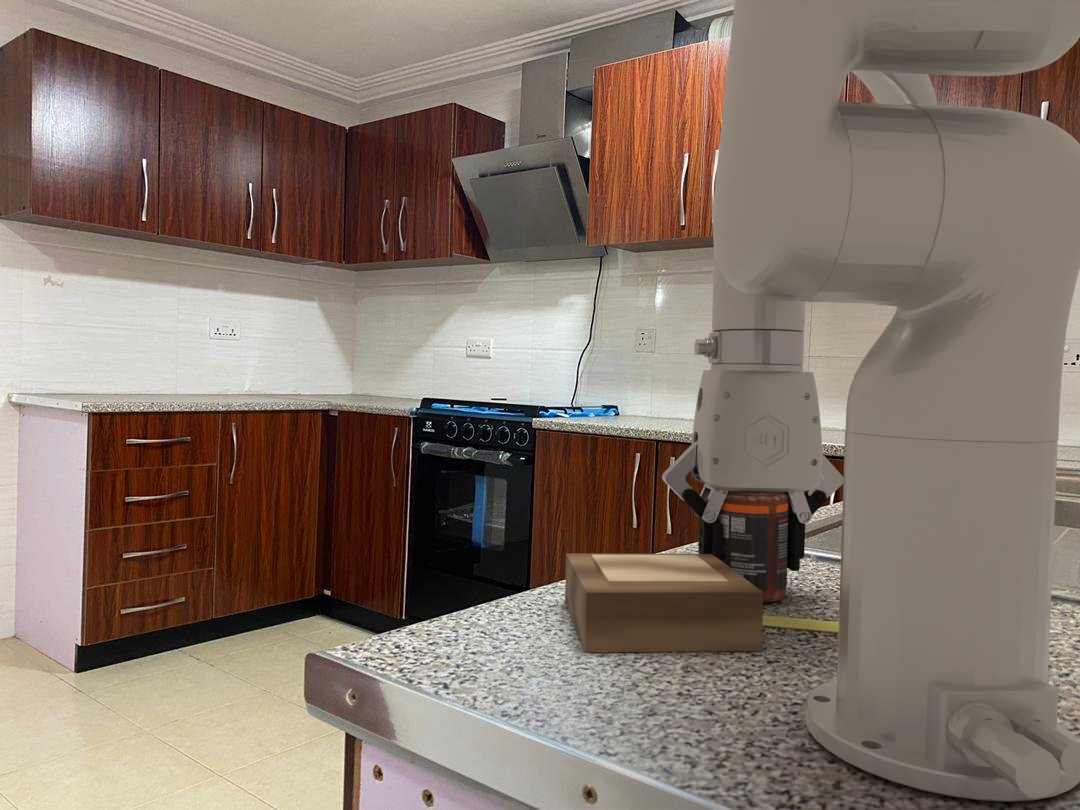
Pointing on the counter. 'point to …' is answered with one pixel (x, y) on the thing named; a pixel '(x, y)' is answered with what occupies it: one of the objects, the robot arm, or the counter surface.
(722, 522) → the supplement bottle
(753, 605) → the base slab
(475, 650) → the counter surface
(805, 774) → the counter surface
